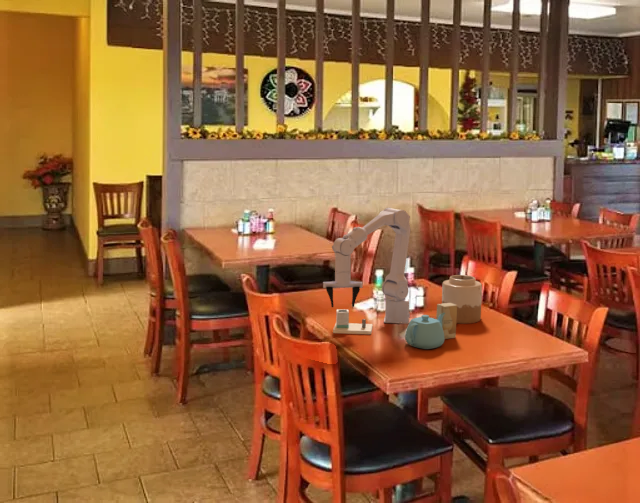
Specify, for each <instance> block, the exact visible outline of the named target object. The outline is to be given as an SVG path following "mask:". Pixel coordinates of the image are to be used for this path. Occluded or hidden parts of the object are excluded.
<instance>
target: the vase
mask: <svg viewBox="0 0 640 503" xmlns="http://www.w3.org/2000/svg"><path fill="white" fill-rule="evenodd" d="M441 286H442V287H441V304H443V303H452V304H455V305H457V318H456V324H464V325H465V324H466V325H467V324H475V323H478V322H480V321H481V318H482V296H483V295H482V294H483V292H482V291H483V284H482V283H481V282H480V281H478V280H476V277H474V276H472V275H469V274H468V275H465V274H455V275H454V274H453V275H450V277H449V279H446V280H444V281H443V282H442V285H441Z"/></svg>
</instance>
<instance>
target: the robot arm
mask: <svg viewBox="0 0 640 503" xmlns="http://www.w3.org/2000/svg"><path fill="white" fill-rule="evenodd" d="M410 219H411V216H410V215H409V213H408V211H406V210H404V209H399V208H398V209H396V208H391V207H386V208H384V209H383V210H381V211H380V212H379V213H378V214H377V215H376V216H375V217H373V218H372V219H371V220H370V221H368V222H367V223H366V224H365V225H364V226H362V227H360V226H357V227H356V226H354V227H353V228H352V230H351V231H350V232H348V233H347V234H344V235H343V236H342V237H338V238H336V239H335V240H334V242H333V244H332V245H331V248H332V251H333V252H334V257H335V258H334V271H335V272H334V280H332V281H323V282H322V284H323V285H322V288H323V289H326V293H327V294H328V297H329V301H330V305H331V306H330V307H331V308H334V288H335V289H336V288H339V289H340V288H343V289H344V288H346V289H347V288H348V289H349V288H351V290H352V293H351V294H352V298H351V308H355V303H356V301H357V300H356V299H357V298H358V295H359V293H360V290H361V289H362V288H363V281H354V280H352V279H351V278H352V277H351V269H352V268H351V267H352V266H351V265H352V264H351V258H352V257H351V254H353V253H354V251H355V248H358V246H359V245H361V244H362V243H364V242H365V241H367V239H368V236H369V235H371V234H372V233H373V232H375V231H376V230H378V229H380V228H382V227H384V226H389V227H390V228H391V229H392V230H393V232H394V233H395V236H394V242H393V250H392V258H391V263H390V268H389V269H390V271H389V273H388V274H387V275H386V276H385V279H384V282H383V283H382V285H381V291H382V293H383V295H384V298H385V308H384V309H385V310H384V311H385V314H384V319H383V323H386V324H405V325H406V324H408V325H409V323H410V321H409V320H410V316H411V314H410V299H408V298H407V297H408V295H409V288H408V283H409V281H408V279H407V278H406V276H405V271H406V264H407V258H408V250H409V244H410V238H411V230H412V229H411V224H410Z"/></svg>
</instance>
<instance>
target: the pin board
mask: <svg viewBox="0 0 640 503" xmlns="http://www.w3.org/2000/svg"><path fill="white" fill-rule="evenodd" d="M366 320H367V319H366V318H362V319H361V323H356V322H355V323H352V322H349V328H337V326H336V323H335V324H334V326H333V329H332V333H333V334H345V335H346V334H347V335H348V334H349V335H351V334H352V335H372V333H373V327H374V326H373V325H374V324H373V323H367V321H366Z"/></svg>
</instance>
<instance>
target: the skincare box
mask: <svg viewBox="0 0 640 503" xmlns="http://www.w3.org/2000/svg"><path fill="white" fill-rule="evenodd" d="M441 313H445V314H444V316H443V319H442V328H443V332H444V338H445V340H447V339H455V338H456V334H457V333H456V332H457V323H456V318H457V305H455V304H452V303H443V304H442V303H437V304H436V316H435V319H437V320H438V317H439V315H440V314H441Z"/></svg>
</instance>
